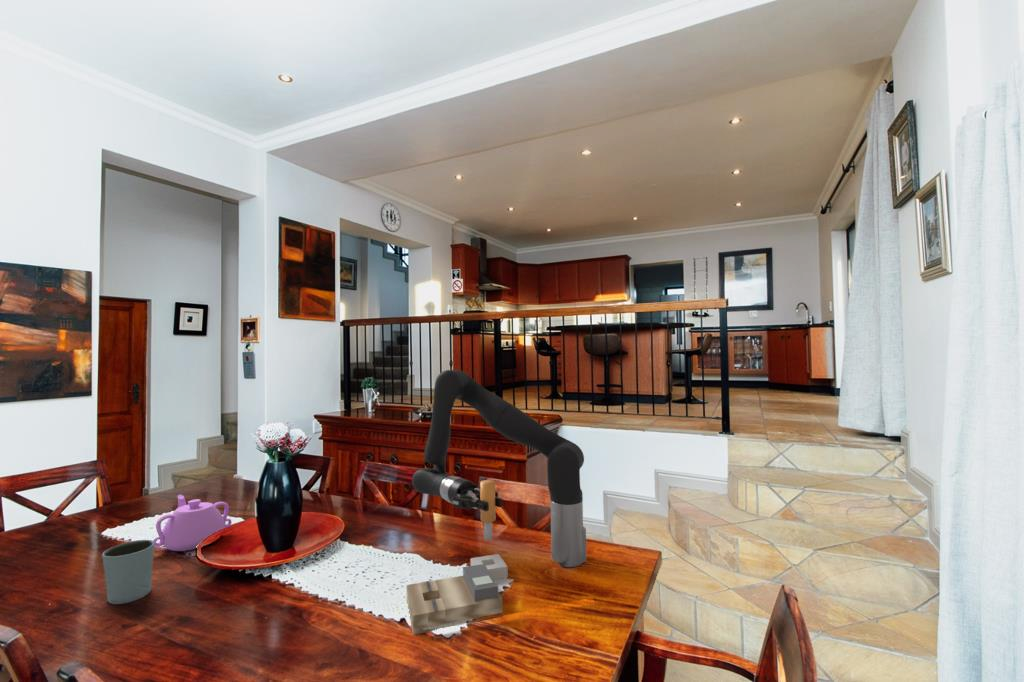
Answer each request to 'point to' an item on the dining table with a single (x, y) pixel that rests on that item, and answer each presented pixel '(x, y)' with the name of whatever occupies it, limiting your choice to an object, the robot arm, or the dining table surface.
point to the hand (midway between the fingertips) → (494, 505)
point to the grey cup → (128, 571)
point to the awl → (489, 496)
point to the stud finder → (480, 582)
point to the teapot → (190, 524)
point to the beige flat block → (446, 604)
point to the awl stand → (492, 565)
